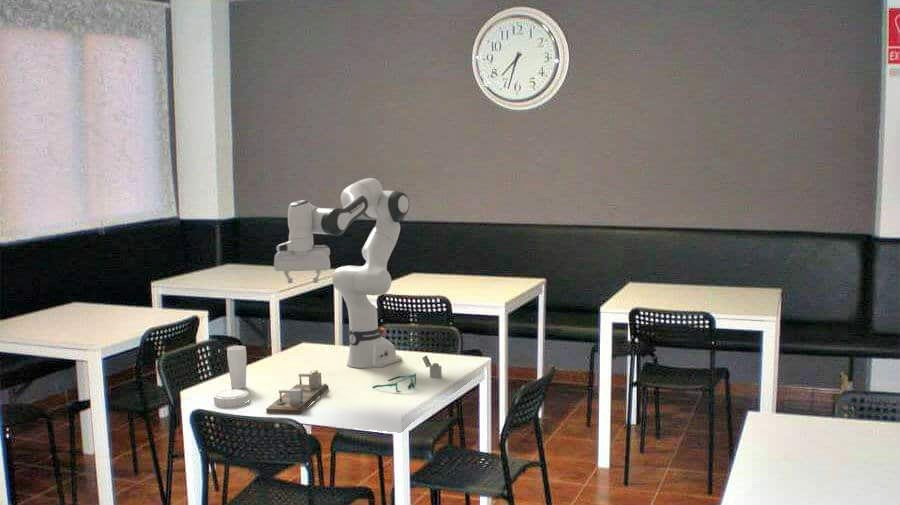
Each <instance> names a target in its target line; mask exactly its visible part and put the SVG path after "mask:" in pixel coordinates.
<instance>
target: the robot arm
mask: <svg viewBox="0 0 900 505" xmlns="http://www.w3.org/2000/svg"><path fill="white" fill-rule="evenodd" d="M340 204H341V205H342V208H341V207H333V208H332V207H331V208H329V207H328V208H327V207H318V206H316V205H313V204H312V203H311V202H310V200H308V199H301V200H295V201H293V202H290V204H289V206H288V210H287V226H288V230H289V232H288V241H285V242H282V243H280V244H278V245H277V246H276V248H275V249H276V251H277V252H276V253H275V254H274V257H273V258H274V260H273V268H274V270H275V271H276V272H283V274H284V276H285V277H286V279H287V284H293V279H294V278H293V277H290V275H289V274H290V272H305V271H306V272H307V271H308V272H309V271H311V272H313V271H315V274H316V277H313V278H312V279H313V283H314V284H317V283H319V277H320V275H321V273H322V271H328V270H329V269H330V268H331V261H330V255H331V249H330V247H329V246H327V245H326V244H321V245H320V244H314V235H315V234H317V235H328V236H334V237H338V236H341V235H342V234H344V232H345V231H346V230H347V229H348V227H349V226H350V225H351V224H352V223H353V222H354V221H356V220H357V219H358V218H359V217H361V216H363V217H365V218H369V219H376V220H375V221H376V222H375V225H374V227H373V228H372V230H371V231H370V233H369V235H368V237H367V240H366V241H365V243H364V245H363V246H362V249H361V254H362V257H363V259H364V260H365V263H364V265H351V264H350V265H342V266H340V267H337V268H336V269H335V271H334V272H333V273H332V285H333V286H334V289H336V290H337V291H338V292H339V294H341V296H342V297H343V300H344V302H345V305H346V309H347V312H348V323H349V328H348V340H349V349H348V350H349V351H348V359H347V364H346V365H347V367H348V366H349V367H352V368H357V369H358V368H360V369H364V368H365V369H368V368H377V369H378V368H382V367H385V366H388V365H391V364H394V363H396V362H398V361H402V360H403V359H402V358H403V357H402V356H401V355H399V354H397V353H396V348H395V345H394V344H393V343H392V342H391V341H390V340H388V339H386V338H385V337H383V335H382V334H386V332H387V329H386V328H384V327H381V328H380V327H378V326H379V323H378V309H377V306H375V305H374V304H373V303H372V302H371V301H370V300H369V297H368V296H382V295H385V294H387V293H388V292H389V291H390V288H391V286H392V276H391V274H390V273H389V271H388V270H387V269H388V266H387V265H388V261H389V259H390V257H391V254H392V252H393V250H394V248H395V246H396V244H397V241H398V238H399V236H400V232H401V224H400V222H402V221H403V220H404V219H405V216H406V215H407V214H408V211H409V209H410V199H409V197H408V195H407V194H406V193H404V192H403V191H399V190H395V191H394V190H383V186H382V184H381V182H380V181H379V180H378V179H377V178H373V177H369V178H368V177H367V178H363V179H359V180H358V181H356V182H353V183H352V184H350V185H348V186H346V187H345V188H344V189H343V191H342V192H341V194H340Z"/></svg>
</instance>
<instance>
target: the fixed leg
mask: <svg viewBox="0 0 900 505" xmlns="http://www.w3.org/2000/svg"><path fill="white" fill-rule="evenodd" d="M327 385H328V384H327V383H322V386H321V387H320V388H318V389H317V390H316V391H315V392H314V393H313V394H311V395H310V396H309V397H308V398H307V399H306V400H305V401H303V390H302V389H292V388H290V389H291V390H290V389H279V390H278V393H279V398H280V402H282V396H283V394H285V393H289V396H290V405H294V406H298V409H301V408H302V407H303V406H305V405H306V404H307V403H308V402H309V401H310V400H311V399H312V398H314V397H315V396H316V395H317V394H318V393H319V392H320V391H321V390H323V389H324V388H325V387H326V386H327Z"/></svg>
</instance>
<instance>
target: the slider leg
mask: <svg viewBox="0 0 900 505" xmlns="http://www.w3.org/2000/svg"><path fill="white" fill-rule="evenodd" d="M310 371H311V370H310ZM302 377H308V385H309V388H320V387H321V386H322V385H323V383H322V372H319V370H312V371H311V372H310V373H298V378H299V384H300V385H303V383H302V382H303V381H302Z"/></svg>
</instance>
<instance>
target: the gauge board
mask: <svg viewBox="0 0 900 505" xmlns="http://www.w3.org/2000/svg"><path fill="white" fill-rule="evenodd" d="M291 389H302V390H303V401H305V400H306V399H307V398H308V397H309V396H310V395H311V394H313V393H314V392H315V391H316V390H317V389H318V388H309V384H302V385H300V383H299V384H295V385H294V386H292V388H290V389H289V390H291ZM328 390H329V385H328V384H327V386H326V387H325V388H324V389H323V390H321V391H320V392H319V393H318V394H317V395H316V396H315V397H314V398H312V399H311V400H310V401H309V402H308V403H307V404H306V405H305V406H303V407H302V408H301V409H298V406H294V405H290V396H289V393H283V394H282V402H280V397H279V398H278V399H277V400H275V401H274V402H273V403H272V404H270V405H269V406H267V408H266V409H265V412H266V413H265V414H283V415H285V414H286V415H301V414H303V413H304V412H306V410H307V409H308V408H309V407H310V406H311V405H310V404H311V403H312V402H313V401H315V400H316V399H317V398H318V397H319V396H320V397H322V396H323V395H324V394H325V393H326V392H328ZM324 392H325V393H324ZM323 393H324V394H323ZM322 394H323V395H322ZM321 395H322V396H321ZM320 397H319V398H320ZM319 398H318V399H319ZM318 399H317V400H318ZM317 400H316V401H317ZM316 401H315V402H316ZM309 405H310V406H309ZM308 406H309V407H308ZM307 407H308V408H307Z"/></svg>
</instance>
